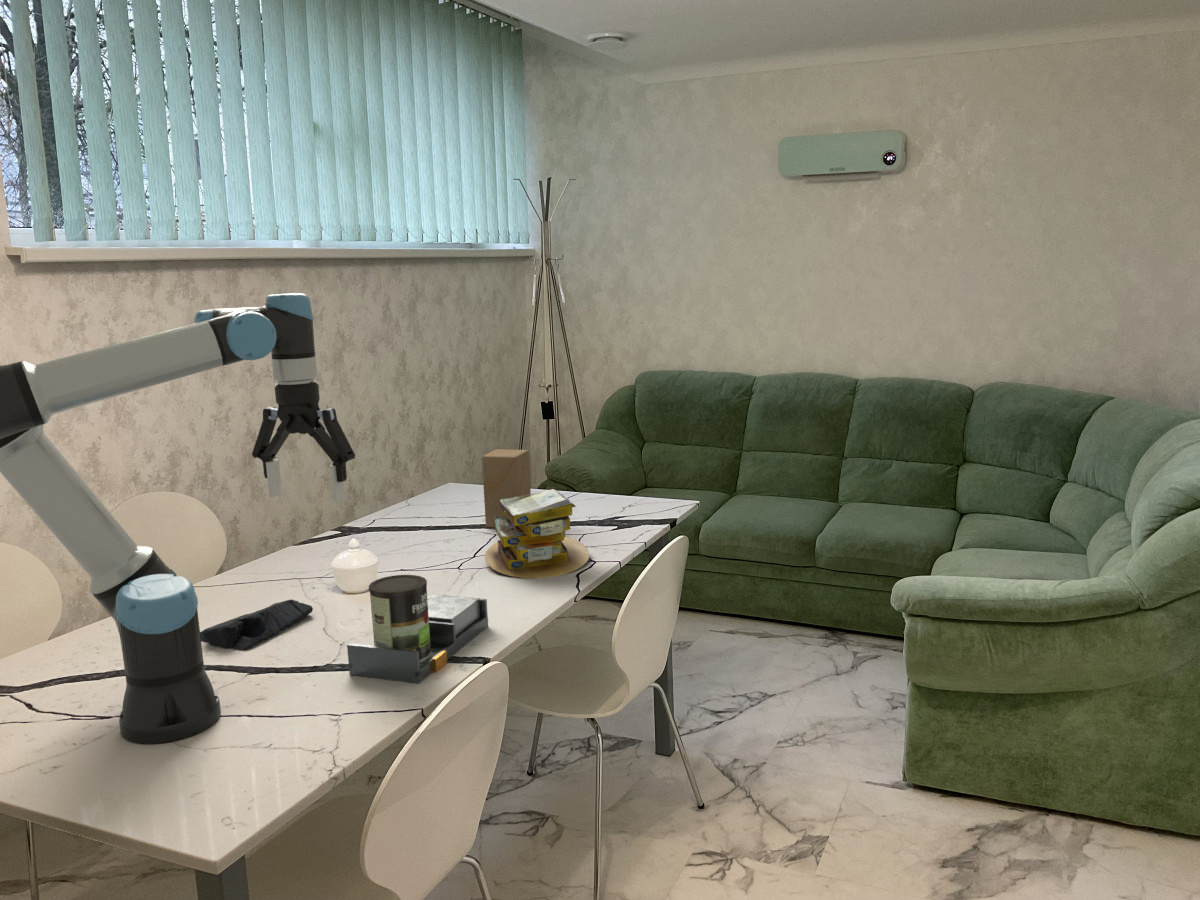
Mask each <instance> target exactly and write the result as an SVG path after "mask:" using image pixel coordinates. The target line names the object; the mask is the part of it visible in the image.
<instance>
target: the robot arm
mask: <svg viewBox="0 0 1200 900" xmlns="http://www.w3.org/2000/svg"><path fill="white" fill-rule="evenodd" d="M312 310H313V309H312V305H311V300H310V297H309V296H308V295H307V294H305V293H301V292H297V293H296V292H295V293H294V292H293V293H292V292H291V293H278V294H269V295H267V296H266V299H265V303H264V305H262V306H257V307H233V308H232V307H231V308H229V307H227V308H211V309H204V310H202V309H201V310H198V311H197V312H196V313H195V315H194V319H193V320H194V323H192V324H187V325H184V326H180V327H176V328H173V329H170V330H169V329H168V330H165V331H161V332H158V333H153V334H150V335H146V336H142V337H141V336H140V337H139V338H135V339H130V340H127V341H123V342H119V343H116V344H111V345H110V344H109V345H106V346H104V347H99V348H95V349H92V350H88V351H85V352H80V353H76V354H73V355H68V356H63V357H61V358H57V359H52V360H49V361H46V362H41V363H37V364H32V363H30V362H27V361H25V360H21V361H17V362H13V363H10V364H9V363H8V364H3V365H1V364H0V474H1V475H2V476H3V478H5V480H6V481H7V482H8V483H9V485H11V487H13V489H14V490H15V491H16V492H17V494H19V496H20V497H21V498H22V499H23V501H24V502H25V503H26V504H27V505H28V507H29V508H31V510H32V511H33V512H34V513H35V514H36V516H37V517H38V518H39V519H40V520H41V522H43V524H44V525H45V526H46V527H47V528H48V530H49V531H50V532H51V533H52V534H53V535H54V536H55V538H57V540H58V541H59V542H60V544H62V546H63V547H64V548H65V549H66V550H67V551H68V552H69V554H70V555H71V556H72V557H73V558H74V560H75V561H77V563H78V564H79V565H80V567H81V568H82V569H83V570H84V571H85V572H86V573H87V574H88V576H89V577H90V584H89V592H90V593H91V595H92V596H93V597H94V598H95V599H96V600H97V601H98V602H99V604H100V605H101V606H102V607H103V608H104V609H105V611H106V612H107V613H108V614H109V615H110V616H111V618H112V619H113V620H114V622H115V625H116V627H117V632H118V634H119V638H120V639H119V641H120V645H121V653H122V659H123V667H124V668H123V669H124V674H125V676H124V677H125V682H126V687H125V691H124V696H123V701H122V706H121V707H122V710H121V711H120V714H119V717H118V719H119V721H118V723H119V730H120V731H119V732H120V735H121V737H122V738H124V739H125V740H126V741H128V742H131V743H136V744H162V743H168V742H173V741H174V742H175V741H177V740H182V739H185V738H189V737H191V736H194V735H196V734H199V733H201V732H203V731H206V730H207V729H208V728H210V727H211V726H213V725H214V724H215V723H216V722H217V721H218V720H219V719H220V717H221V715H222V710H221V701H220V698H219V696H218V694H217V693H216V692H215V690H214V688H213V685H212V683H211V681H210V677H208V674H207V673H206V669H205V664H204V655H203V654H204V653H203V646H202V641H201V636H200V632H201V629H200V620H199V613H198V604H199V601H198V595H197V593H196V590H195V586H194V584H193V583H192V582H191V580H189V579H188V578H187V577H184V576H182V575H178V574H177V573H176V572H175V571H174V570H173V569H171V568H170V567H169V566H167V565H166V563H165V562H164V561H163V560H162V558H161V557H160V556H159V555H158V554H157V552H156V551H155V550H154V549H153V548H152V547H151V546H147V545H138V544H136V542H135V540H134V539H132V537H131V536H130V535H129V534H128V533H127V531H126V530H125V529H124V527H123V526H122V525H121V524H120V522H118V520H117V519H116V518H115V517H114V515H113V514H112V513H111V512H110V511H109V510H108V508H107V507H106V506H105V504H103V502H102V501H101V499H99V497H98V496H97V494H95V492H94V491H93V490H92V489H91V488H90V486H88V484H87V482H86V481H84V479H83V478H82V477H81V476H80V474H79V473H78V472H77V471H76V470H75V468H74V467H73V466H72V465H71V463H70V462H69V461H68V460H67V458H65V456H64V455H63V454H62V453H61V451H60V450H59V449H58V448H57V446H56V445H55V444H54V442H52V440H51V439H50V438H49V437H48V435H46V433H45V432H44V427H45V424H48V423H49V421H50V419H51V418H52V416H54V415H55V414H60V413H62V412H65V411H66V412H67V411H70V410H73V409H76V408H80V407H83V406H88V405H90V404H94V403H97V402H101V401H104V400H108V399H111V398H115V397H119V396H121V395H126V394H128V393H132V392H136V391H139V390H144V389H146V388H149V387H153V386H156V385H159V384H163V383H167V382H170V381H174V380H178V379H180V378H185V377H188V376H192V375H196V374H198V373H202V372H205V371H209V370H212V369H216V368H219V367H223V366H228V365H231V364H235V363H239V362H242V361H256V360H261V359H263V358H265V357H267V356H268V355H271V365H272V375H273V376H272V378H273V380H274V381H275V382H277V383H275V385H274V393H275V394H274V396H275V397H274V398H275V403H276V404H277V405H278V407H276V406H269V407H264V408H263V410H262V422H261V426H260V427H259V430H258V435H257V438H256V440H255V443H254V446H253V449H252V453H251V455H252V456H251V457H253V458H255V459H260V461H261V462H262V465H263V467H262V468H263V476H264V478H265V479H267V487H268V497H269V498H274V497H277V496H280V495H282V494H283V492H282V491H283V490H282V483H281V482H282V481H281V471H280V469H281V468H280V462H279V461H280V460H279V459H278V458H277V456H276V455H277V454H278V453H279V451H280V450H281V448H282V447H283V445H284V443H285V442H286V440H287V439H288V438H289V435H290V434H293V435H294V434H297V433H298V434H301V435H306V434H308V435H309V436H310V437H312V438H313V439H314V440H315V441H316V443H317V445H318V446H319V447H320V448H321V450H322V451H324V453H325V454H326V455H327V457H328V458H329V459H330V460H331V462H332V464H329V473H330V481H331V494H332V501H333V502H338V501H340V500H343V499H345V498H346V495H345V494H346V493H345V492H346V491H345V482H346V481H347V480H348V479H347V478H348V475H347V474H348V473H347V462H349V461H352V460H354V459H355V458H356V454H355V451H354V450H353V448H352V446H351V445H350V442H349V440H348V439H347V437H346V436H347V435H346V434H345V432H344V431H343V428H342V427H341V425H340V423H339V421H338V417H337V412H336V409H335V408H334V407H330V408H326V409H321V408H320V407H319V402H320V399H321V398H320V388H319V387H320V386H319V382H318V381H317V380H316V379H317V378H318V368H317V367H318V365H317V358H316V357H317V356H316V346H315V344H316V343H315V331H314V317H313V311H312ZM270 353H271V354H270ZM278 419H279V421H280V424H279V426H278V427H277V429H276V432H275V434H274V429H275V427H276V424H277V420H278ZM320 420H321V421H322V422H323V424H324V426H323V424H322V423H321V421H320ZM273 434H274V435H273ZM272 436H273V437H272ZM276 458H277V459H276Z"/></svg>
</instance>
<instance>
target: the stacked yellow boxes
mask: <svg viewBox="0 0 1200 900" xmlns="http://www.w3.org/2000/svg"><path fill="white" fill-rule="evenodd" d="M521 497H522V498H521ZM521 497H520V496H519V497H513V498H509V499H502V500H500V510H501V512H502V513H503V514H505V516H506V517H507V518H504V517H499V516H498V517H497V516H494V515H493V516H494V517H496V518H495V528H494V530H495V532H496V534H497V536H498V538H499V540H498V541H496V542H495V543H493V544H491V546H490V547H488V548H487V550H486V551H485V555H484V560H485V562H486V564H487V566H489V567H490V568H491V569H493V570H494V571H496V572H498V573H501V574H503V575H506V576H509V577H514V578H522V579H542V578H549V577H550V578H551V577H559V576H563V575H567V574H569V573H572V572H575V571H577V570H578V569H580V568H582V567H583V566H585V564H587V562H588V560H589V558H590V551H589V549H588V547H587V546H586V545H585V544H584V543H582V542H581V541H579V540H577V539H575V538H572V537H570V536H566V531H568V530H569V531H570V530H571V518H570V517H569V516H572V515H573V508H575V507H576V505H575V503H572V502H571V501H570V499H569V498H566V496H564V495H563V494H562V493H560V492H559V491H557V490H556V489H553V488H552V489H548V490H544V491H541V492H535V493H532V494H529V495H527V496H526V494H525V495H524V496H521Z"/></svg>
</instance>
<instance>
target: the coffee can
mask: <svg viewBox="0 0 1200 900" xmlns="http://www.w3.org/2000/svg"><path fill="white" fill-rule="evenodd" d="M427 585H428V581H427V579H426V578H425V577H424V576H420V575H414V574H397V575H390V576H383V577H381V578H378V579H376V580H373V581H372V582H370V583H369V585H368V591H369V596H370V609H371V620H372V621H371V623H372V631H373V634H372V635H373V643H374V644H373V646H379V647H388V648H397V649H406V650H414V651H419V661H420V663H422V662H424V661H426V660H427V659H429V658H430V656H431V654H432V652H431V644H430V631H429V616H428V601H427V594H428V591H427V590H428V589H427Z"/></svg>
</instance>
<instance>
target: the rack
mask: <svg viewBox="0 0 1200 900" xmlns="http://www.w3.org/2000/svg"><path fill="white" fill-rule="evenodd" d="M427 601H428V616H429V631H430V644H431V652H432V654H431V656H430V658H429V659H427V660H426V661H424V662H422V663H420V661H419V651H414V650H406V649H397V648H388V647H379V646H374V645H371V644H362V643H361V644H360V643H352V642H349V643H348V644H346V649H347V659H348V660H347V661H348V670H349V671H348V672H349V673H348V674H349V676H355V677H365V678H372V679H379V680H380V679H381V680H388V681H395V682H405V683H410V684H411V683H414V684H420V683H421V682H422V681H424V680H425V679H427V677H429V676H430V675H431V674H432V673H433V672H434V673H437V672H438V671H440V670H441V669H442V668H444V666H446V665H447V664H448V660H449V659H450V658H451V657H453V656H454V655H456V653H458V652H459V651H460V650H461V649H462V648H464V647H465V646H466V645H468V644H469V643H470V642H471V641H472V640H473V639H475V638H476V637H477V636H478V635H480V633H482V632H484V630H486V629H487V628H488V627H489V616H488V600H487V598H480V597H479V598H477V597H467V596H457V595H444V594H434V593H427Z"/></svg>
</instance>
